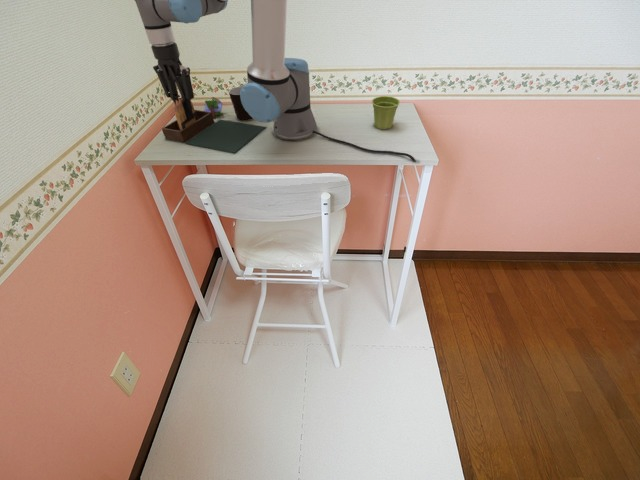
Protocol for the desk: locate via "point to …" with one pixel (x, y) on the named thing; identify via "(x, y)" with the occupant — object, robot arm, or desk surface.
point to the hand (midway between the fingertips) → (187, 118)
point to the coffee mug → (238, 104)
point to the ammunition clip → (183, 115)
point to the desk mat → (226, 136)
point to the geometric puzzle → (213, 106)
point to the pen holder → (187, 133)
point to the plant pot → (384, 111)
